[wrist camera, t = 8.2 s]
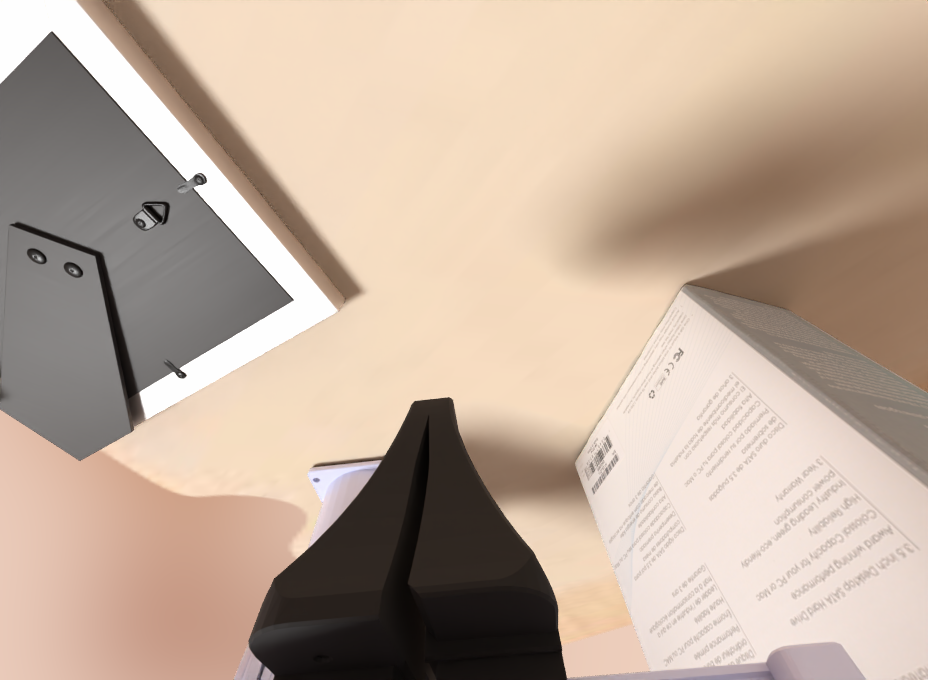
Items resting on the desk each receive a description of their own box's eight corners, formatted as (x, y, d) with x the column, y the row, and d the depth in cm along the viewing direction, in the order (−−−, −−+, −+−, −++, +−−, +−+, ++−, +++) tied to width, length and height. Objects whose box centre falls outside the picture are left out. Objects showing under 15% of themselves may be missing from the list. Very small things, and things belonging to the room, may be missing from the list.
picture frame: (113, 428, 27) (348, 294, 22) (79, 461, 24) (335, 318, 19) (-175, 236, 19) (82, -37, 14) (-265, 255, 17) (7, -65, 12)
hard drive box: (660, 476, 30) (926, 955, 13) (571, 462, 29) (738, 968, 12) (797, 306, 22) (1896, 959, 5) (681, 276, 21) (1626, 999, 4)
